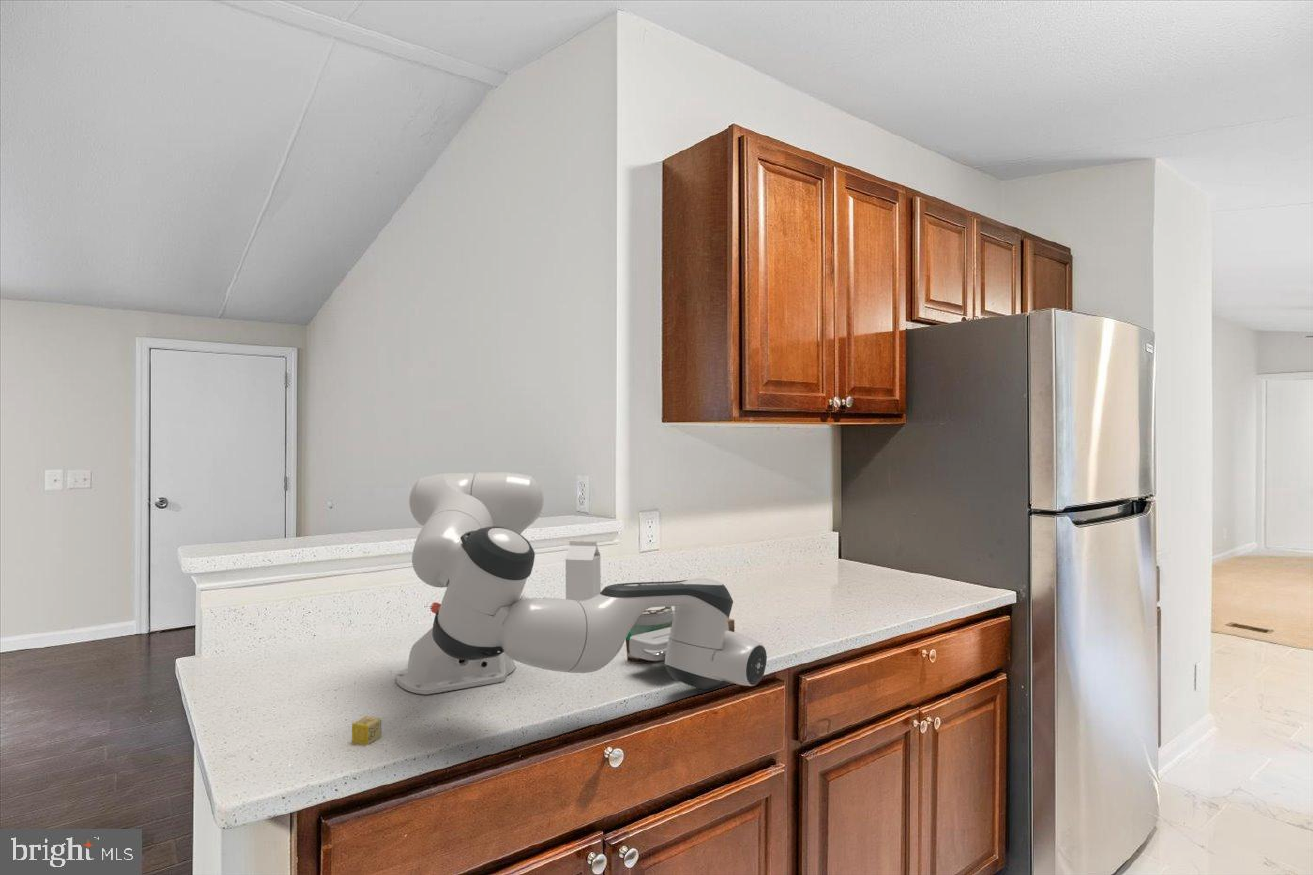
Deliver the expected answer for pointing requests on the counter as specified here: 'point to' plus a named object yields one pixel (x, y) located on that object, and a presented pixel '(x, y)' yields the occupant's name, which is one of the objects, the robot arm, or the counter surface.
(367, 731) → the alphabet block
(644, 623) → the food container
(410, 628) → the counter surface
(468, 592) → the robot arm
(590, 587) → the milk carton
